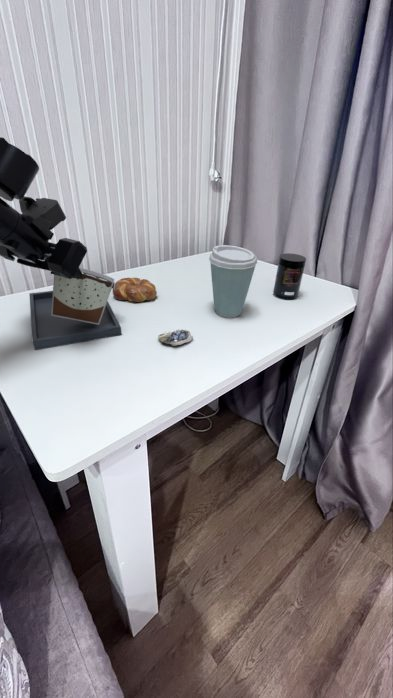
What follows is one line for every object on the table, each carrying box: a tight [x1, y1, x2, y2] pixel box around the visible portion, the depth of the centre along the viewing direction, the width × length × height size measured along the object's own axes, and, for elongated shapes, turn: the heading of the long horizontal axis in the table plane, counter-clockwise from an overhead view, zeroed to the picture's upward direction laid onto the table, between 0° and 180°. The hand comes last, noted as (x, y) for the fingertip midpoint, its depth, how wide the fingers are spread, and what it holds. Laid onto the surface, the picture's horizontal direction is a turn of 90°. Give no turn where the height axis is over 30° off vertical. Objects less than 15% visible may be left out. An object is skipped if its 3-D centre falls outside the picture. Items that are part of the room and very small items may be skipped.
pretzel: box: [112, 277, 158, 303], centre depth 85 cm, size 12×11×4 cm
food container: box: [51, 267, 116, 325], centre depth 69 cm, size 12×6×10 cm, turn 105°
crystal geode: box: [157, 329, 194, 347], centre depth 68 cm, size 7×8×2 cm
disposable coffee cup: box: [208, 244, 258, 319], centre depth 76 cm, size 11×11×15 cm
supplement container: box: [272, 252, 307, 300], centre depth 87 cm, size 7×7×10 cm
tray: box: [28, 290, 123, 351], centre depth 74 cm, size 17×24×2 cm
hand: (71, 273), depth 66 cm, fingers closed on food container, 5 cm apart
